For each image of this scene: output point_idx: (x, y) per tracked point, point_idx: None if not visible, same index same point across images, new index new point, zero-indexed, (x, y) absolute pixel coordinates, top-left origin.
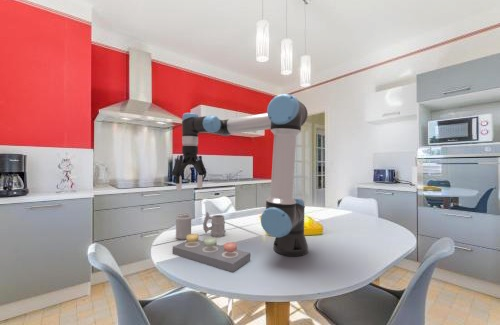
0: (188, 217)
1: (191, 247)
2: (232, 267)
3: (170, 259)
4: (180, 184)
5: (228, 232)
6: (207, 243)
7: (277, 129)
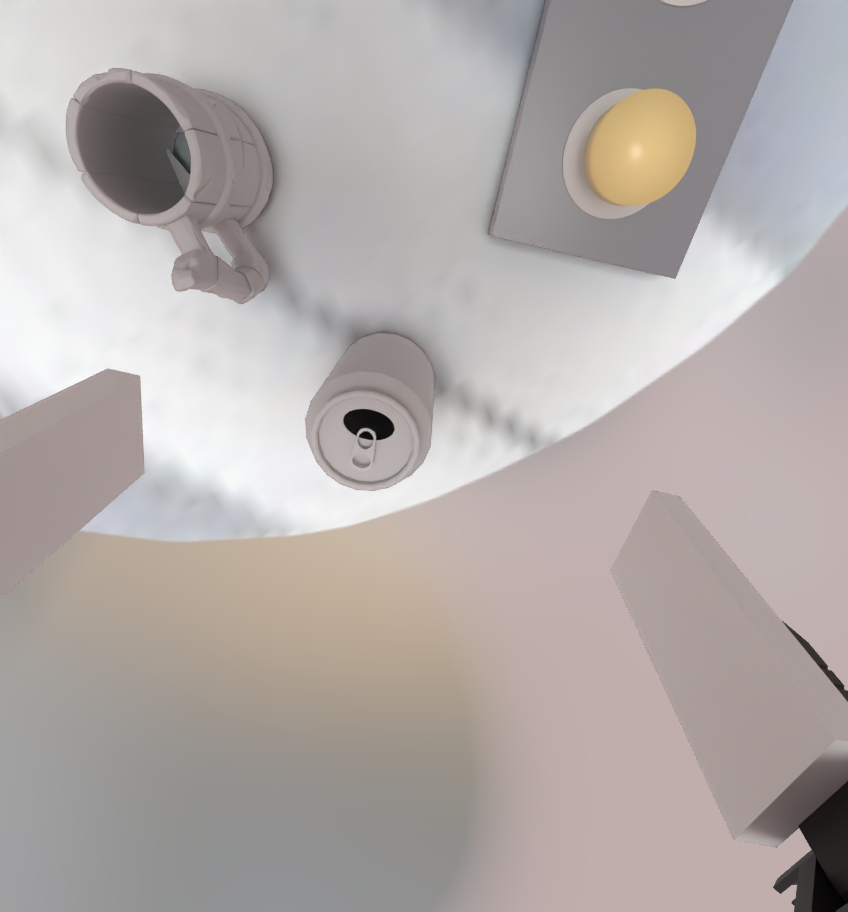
0: (376, 383)
1: None
2: None
3: (743, 227)
4: (738, 572)
5: None
6: None
7: None
